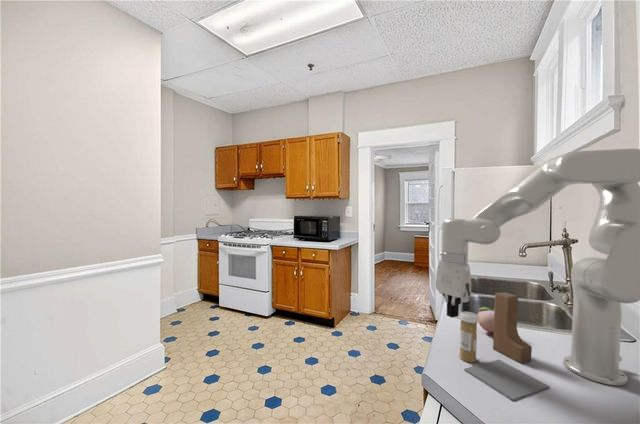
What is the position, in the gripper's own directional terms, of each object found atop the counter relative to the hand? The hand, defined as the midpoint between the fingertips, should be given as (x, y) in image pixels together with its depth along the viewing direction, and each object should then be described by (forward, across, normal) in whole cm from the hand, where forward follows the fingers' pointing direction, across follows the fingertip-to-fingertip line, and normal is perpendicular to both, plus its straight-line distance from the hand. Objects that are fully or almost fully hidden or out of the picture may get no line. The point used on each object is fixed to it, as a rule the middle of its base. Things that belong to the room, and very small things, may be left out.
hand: (452, 316), depth 88 cm
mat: (+10, +16, +1) cm, 19 cm away
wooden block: (+11, +9, +15) cm, 20 cm away
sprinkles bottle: (+11, +6, 0) cm, 12 cm away
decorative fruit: (+11, -3, +23) cm, 26 cm away
